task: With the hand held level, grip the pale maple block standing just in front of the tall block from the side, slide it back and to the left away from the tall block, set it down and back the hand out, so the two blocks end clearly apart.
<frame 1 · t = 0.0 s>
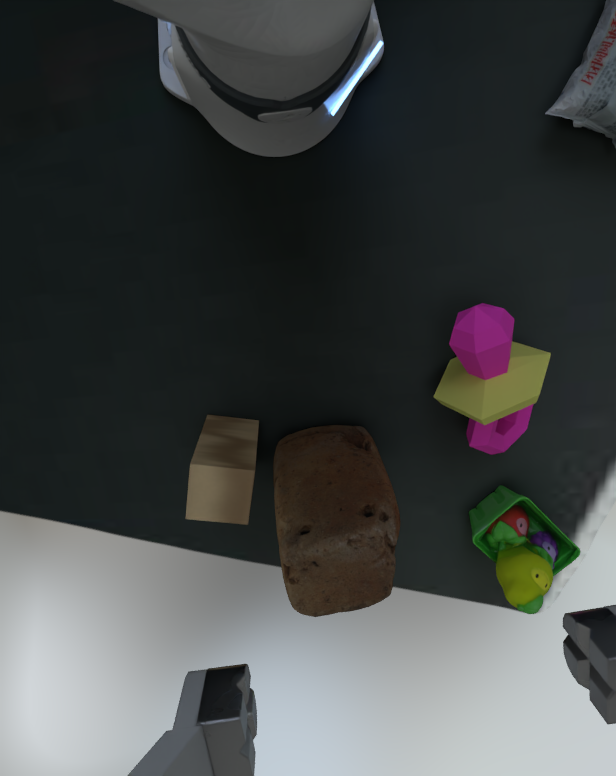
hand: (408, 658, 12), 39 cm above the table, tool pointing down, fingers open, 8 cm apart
packaged food: (602, 72, 43), on the table
block: (325, 450, 54), on the table
fruit basket: (502, 521, 58), on the table
toy: (474, 368, 52), on the table
maple block: (230, 440, 52), on the table
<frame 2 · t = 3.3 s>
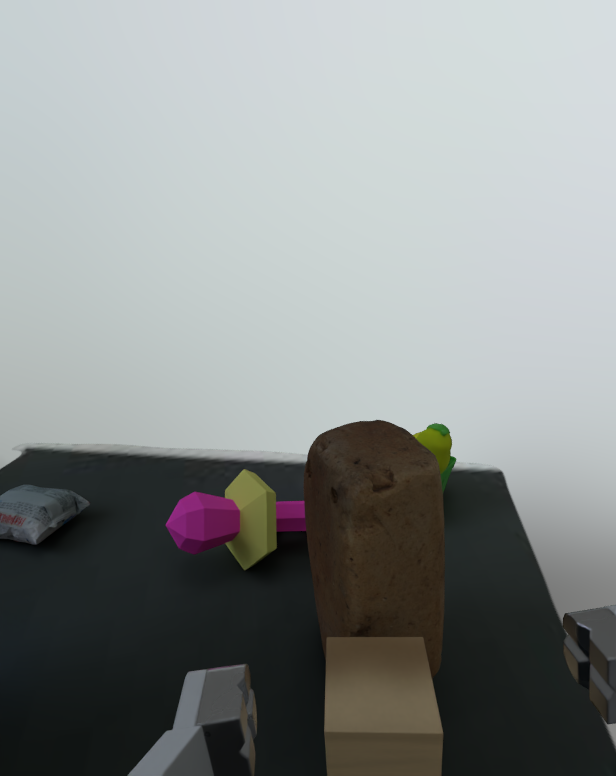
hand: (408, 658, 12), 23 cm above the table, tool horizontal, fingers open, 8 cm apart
packaged food: (30, 534, 59), on the table
block: (369, 668, 39), on the table
fruit basket: (413, 506, 60), on the table
toy: (255, 553, 53), on the table
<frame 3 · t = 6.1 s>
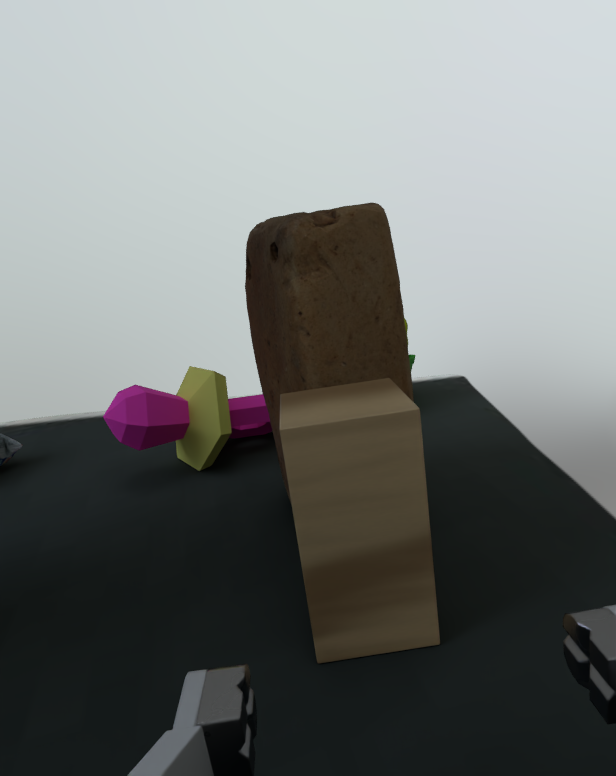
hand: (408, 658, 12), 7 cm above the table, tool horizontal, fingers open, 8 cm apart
block: (344, 512, 34), on the table
toy: (211, 459, 48), on the table
maple block: (368, 611, 24), on the table
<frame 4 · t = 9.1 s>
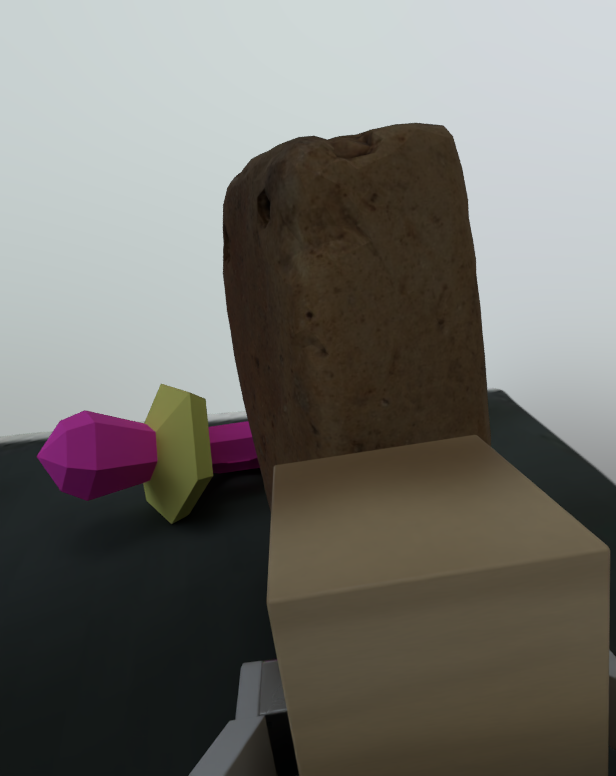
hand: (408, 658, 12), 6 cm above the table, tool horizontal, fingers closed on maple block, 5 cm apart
block: (372, 610, 23), on the table
toy: (189, 505, 37), on the table
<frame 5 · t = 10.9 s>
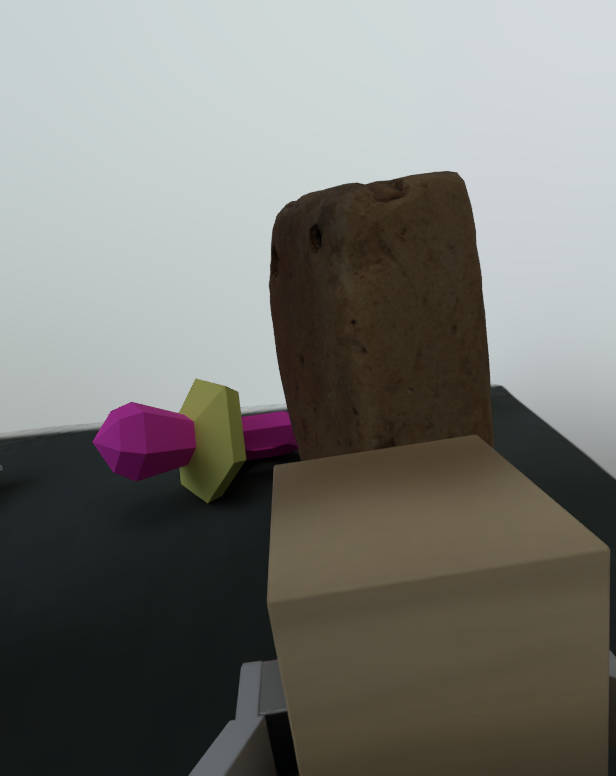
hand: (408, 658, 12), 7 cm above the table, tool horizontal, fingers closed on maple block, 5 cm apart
block: (391, 569, 27), on the table
toy: (220, 487, 41), on the table
when the fingers open (6 cm above the table, at t = 13.1 s): maple block stays where it is, on the table.
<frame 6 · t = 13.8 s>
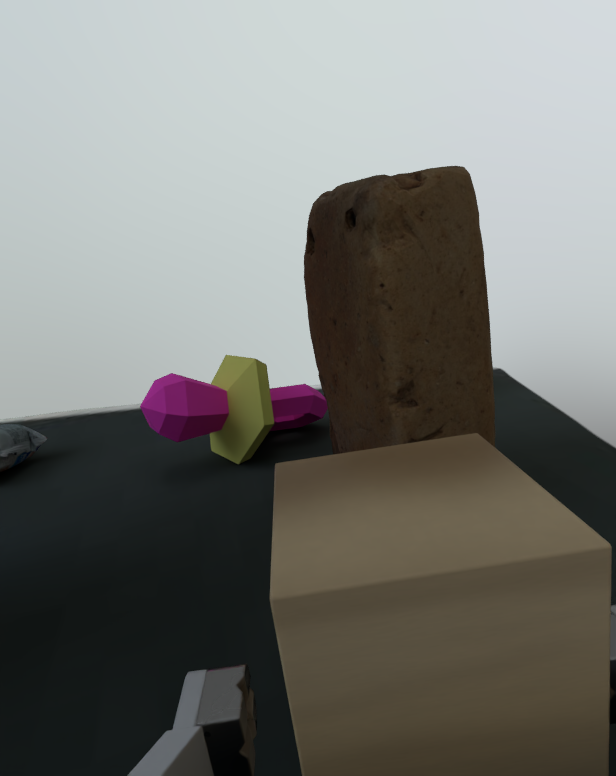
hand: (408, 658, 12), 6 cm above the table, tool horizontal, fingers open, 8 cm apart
block: (406, 506, 32), on the table
toy: (248, 453, 46), on the table
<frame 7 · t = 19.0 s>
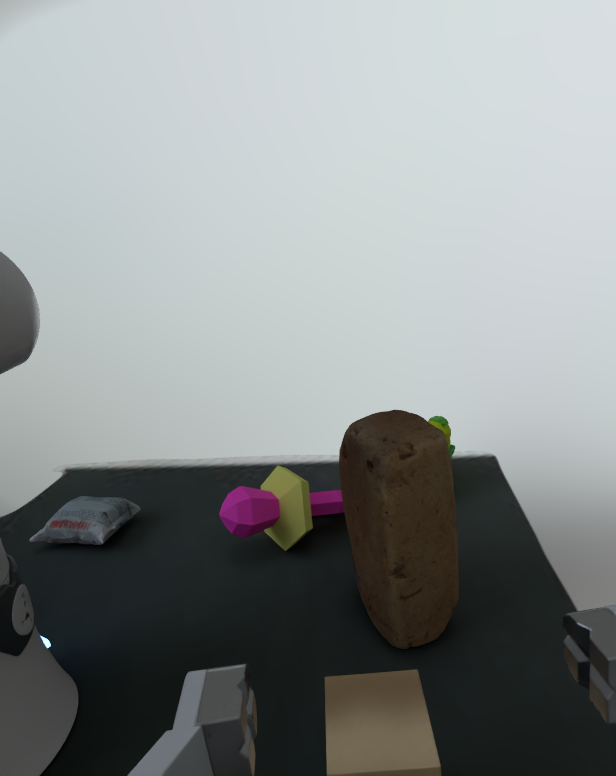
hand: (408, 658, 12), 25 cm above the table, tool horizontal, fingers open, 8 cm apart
packaged food: (90, 538, 67), on the table
block: (401, 612, 48), on the table
fruit basket: (421, 490, 69), on the table
toy: (291, 537, 62), on the table
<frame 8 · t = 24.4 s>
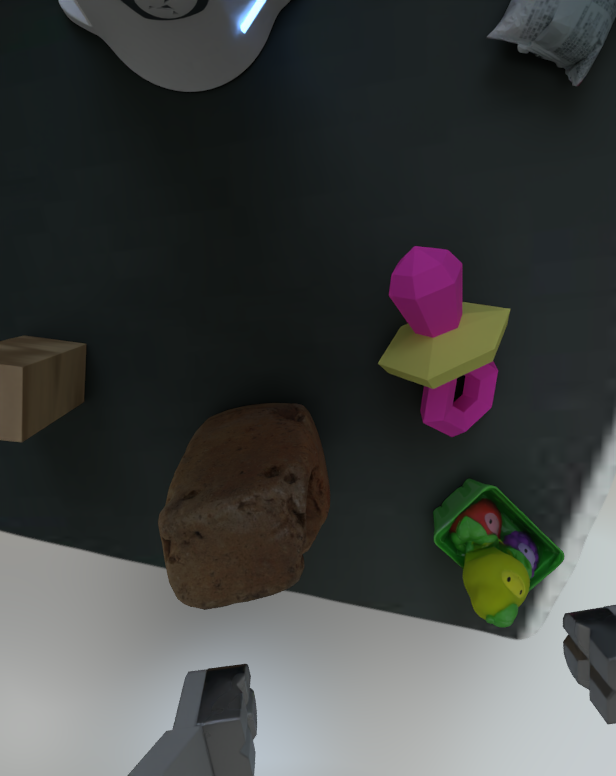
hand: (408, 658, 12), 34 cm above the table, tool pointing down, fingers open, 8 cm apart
packaged food: (549, 0, 39), on the table
block: (262, 435, 47), on the table
fruit basket: (473, 523, 50), on the table
toy: (429, 337, 45), on the table
maple block: (54, 369, 44), on the table
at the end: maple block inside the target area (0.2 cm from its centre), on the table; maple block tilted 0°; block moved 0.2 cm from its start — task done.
